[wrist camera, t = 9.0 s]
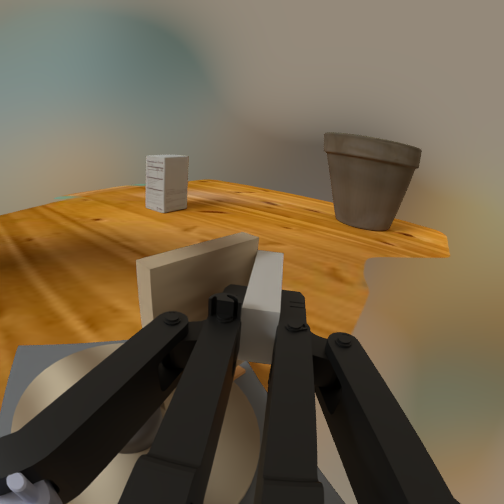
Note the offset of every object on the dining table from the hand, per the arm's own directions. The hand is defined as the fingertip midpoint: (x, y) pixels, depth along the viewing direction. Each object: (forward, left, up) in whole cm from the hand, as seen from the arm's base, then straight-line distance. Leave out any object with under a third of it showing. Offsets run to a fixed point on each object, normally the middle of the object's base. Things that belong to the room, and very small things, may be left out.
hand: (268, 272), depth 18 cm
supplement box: (-55, +1, -9) cm, 56 cm away
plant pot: (-39, +47, -9) cm, 62 cm away
